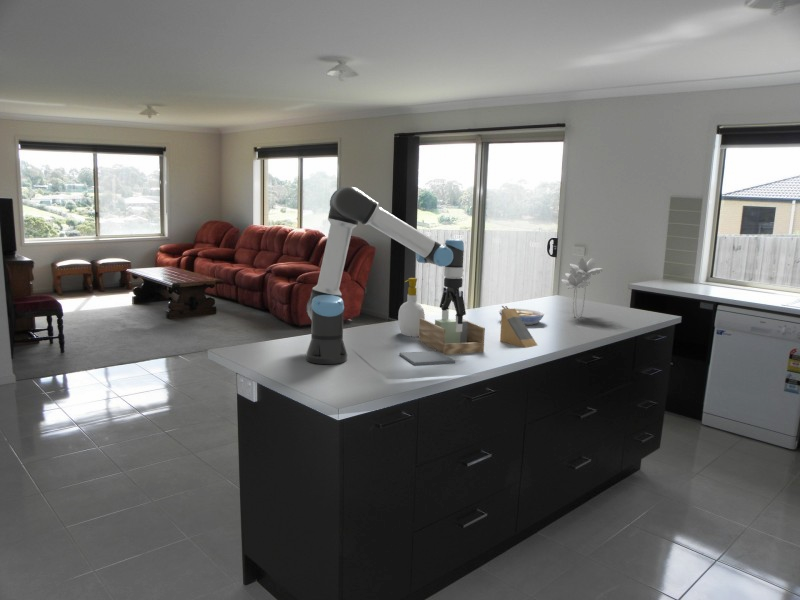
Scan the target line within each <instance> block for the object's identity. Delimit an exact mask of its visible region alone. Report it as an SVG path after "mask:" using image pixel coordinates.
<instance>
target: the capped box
mask: <svg viewBox="0 0 800 600" xmlns="http://www.w3.org/2000/svg"><path fill="white" fill-rule="evenodd" d="M465 320H466V319H464V320H463V323H462V332H455V326H456V318H448V319H442V318H441V319H434V324H435V325H437V326H440V327H442V328H444V329H446V330H445V344H451V343H467V325H468V320H466V321H465Z"/></svg>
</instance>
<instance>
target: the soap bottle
mask: <svg viewBox="0 0 800 600" xmlns="http://www.w3.org/2000/svg"><path fill="white" fill-rule="evenodd" d="M417 281H418V278H416V277H409V278H408V279H407V280H405V281H404V283H406V282H408V285H409V287H408V290H407V291H408V293H407V297H406V298H407V301H406V302H403V303H402V304H401V305H400V307H399V309H398V316H397V319H398V321H397V322H398V327H399V331H400V334H401V335H404V336H406V337H411V336H412V337H413V338H417V337H418V336H419V326H420V318H422V319H424V320H426V319H425V317H426V314H425V311H424V308H423V307H422V305H421V304H420V303H419V302H418V301H417V298H418V294H417ZM418 338H419V337H418Z"/></svg>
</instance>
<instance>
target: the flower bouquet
mask: <svg viewBox="0 0 800 600" xmlns="http://www.w3.org/2000/svg"><path fill="white" fill-rule="evenodd" d="M595 262H596V260H595V258H594V257H591V258H590V259H589V260H588V261H587V262H586V260H585V258H584V257H583V256H582V257H581V258H580V259H579V261H578V262H577V263H578V265H577V264H575V263H574V264H573V263H569V266H570V267H571V268H570V272H566V273H565V274H564V275H565V276H566V277H567V279H563V278H562V279H560V280H561V282H562V283H563V284H564V285H566V286H567V287H566V289H568V290H569V289H573V298H572V299H573V301H572V314H573V318H576V316H577V315H578V311H577V295H578V289H580V288H584V291H583V293H584V294H583V301H582V308H581V313H580V315H579V317H580V318H582V316H583V313H584V307H585V301H586V287H588V286H589V285H590V283H591V281H587V280H590V278H592V276H595V275H599V274H600V273H601V272H603V271H604V268H602V267H596V268H595V266H596V263H595Z"/></svg>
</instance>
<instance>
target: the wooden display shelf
mask: <svg viewBox="0 0 800 600" xmlns="http://www.w3.org/2000/svg"><path fill="white" fill-rule="evenodd" d="M463 320H465V321H468V320H466V319H464V318H463ZM445 330H446V329H444V328H442V327H440V326H437V325H435V323H433V322H430V321H428V320H427V319H425V320H424V319H422V318H420V326H419V337H418V341H419V342H421V343H422V344H424V345H426V346H428V347H430V349H432V350H433V351H439V352H441V353H443V354H445V355H454V354H455V355H457V354H470V353H481V352H482V353H483V352H485V332H486V327H484V326H482V325H478V324H476V323H474V322H471V321H468V325H467V343H451V344H445Z"/></svg>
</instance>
